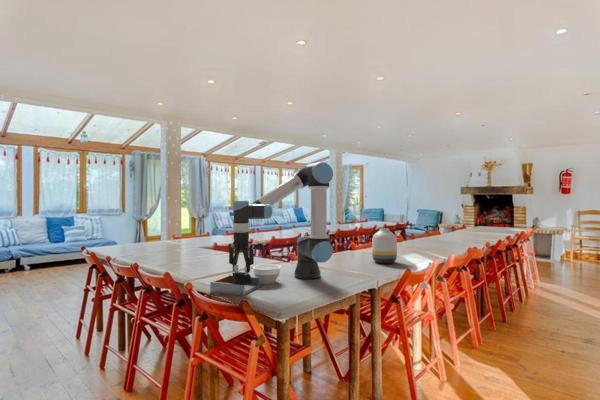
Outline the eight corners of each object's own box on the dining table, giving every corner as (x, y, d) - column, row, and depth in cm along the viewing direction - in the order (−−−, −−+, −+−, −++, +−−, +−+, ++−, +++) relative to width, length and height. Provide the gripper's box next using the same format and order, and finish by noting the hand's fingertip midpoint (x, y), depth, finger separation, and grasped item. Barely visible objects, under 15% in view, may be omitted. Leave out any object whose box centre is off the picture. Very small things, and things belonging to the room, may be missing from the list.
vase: (372, 264, 238) (372, 229, 238) (371, 260, 254) (371, 227, 254) (398, 265, 235) (398, 229, 235) (395, 260, 252) (395, 227, 252)
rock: (226, 277, 169) (232, 263, 165) (241, 276, 174) (247, 262, 169) (232, 294, 162) (239, 280, 157) (248, 293, 166) (254, 279, 162)
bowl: (256, 287, 177) (256, 270, 177) (248, 280, 191) (248, 265, 191) (286, 284, 183) (285, 268, 183) (275, 278, 198) (275, 263, 198)
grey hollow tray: (259, 287, 177) (259, 277, 177) (243, 295, 161) (243, 285, 161) (229, 284, 183) (229, 274, 183) (210, 292, 167) (210, 282, 167)
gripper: (261, 231, 171) (261, 278, 172) (229, 230, 178) (229, 275, 178) (254, 232, 164) (254, 281, 164) (221, 231, 171) (221, 279, 171)
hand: (241, 278), depth 171 cm, fingers open, 5 cm apart
